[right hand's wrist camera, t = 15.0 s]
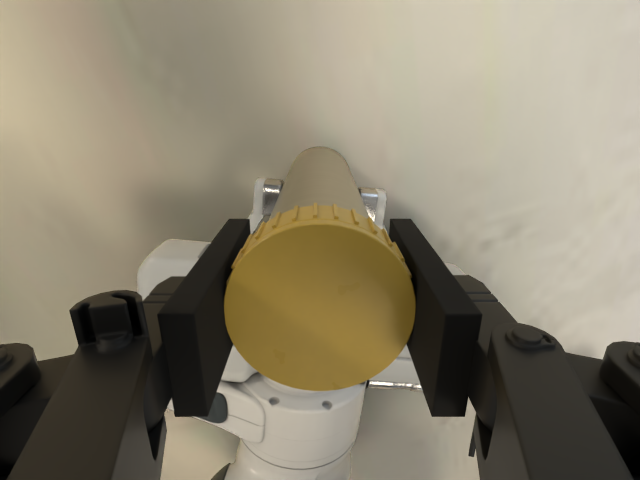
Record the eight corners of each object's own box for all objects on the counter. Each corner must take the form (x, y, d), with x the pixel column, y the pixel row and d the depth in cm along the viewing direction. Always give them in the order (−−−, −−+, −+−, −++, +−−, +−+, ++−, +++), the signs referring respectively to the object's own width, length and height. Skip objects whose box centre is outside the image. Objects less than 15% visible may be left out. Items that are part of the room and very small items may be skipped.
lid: (285, 377, 13) (281, 418, 11) (201, 249, 11) (180, 275, 10) (430, 317, 12) (447, 352, 11) (361, 170, 11) (370, 183, 9)
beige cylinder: (306, 216, 29) (287, 391, 12) (278, 163, 27) (208, 274, 10) (359, 190, 28) (423, 336, 11) (333, 135, 27) (359, 202, 9)
